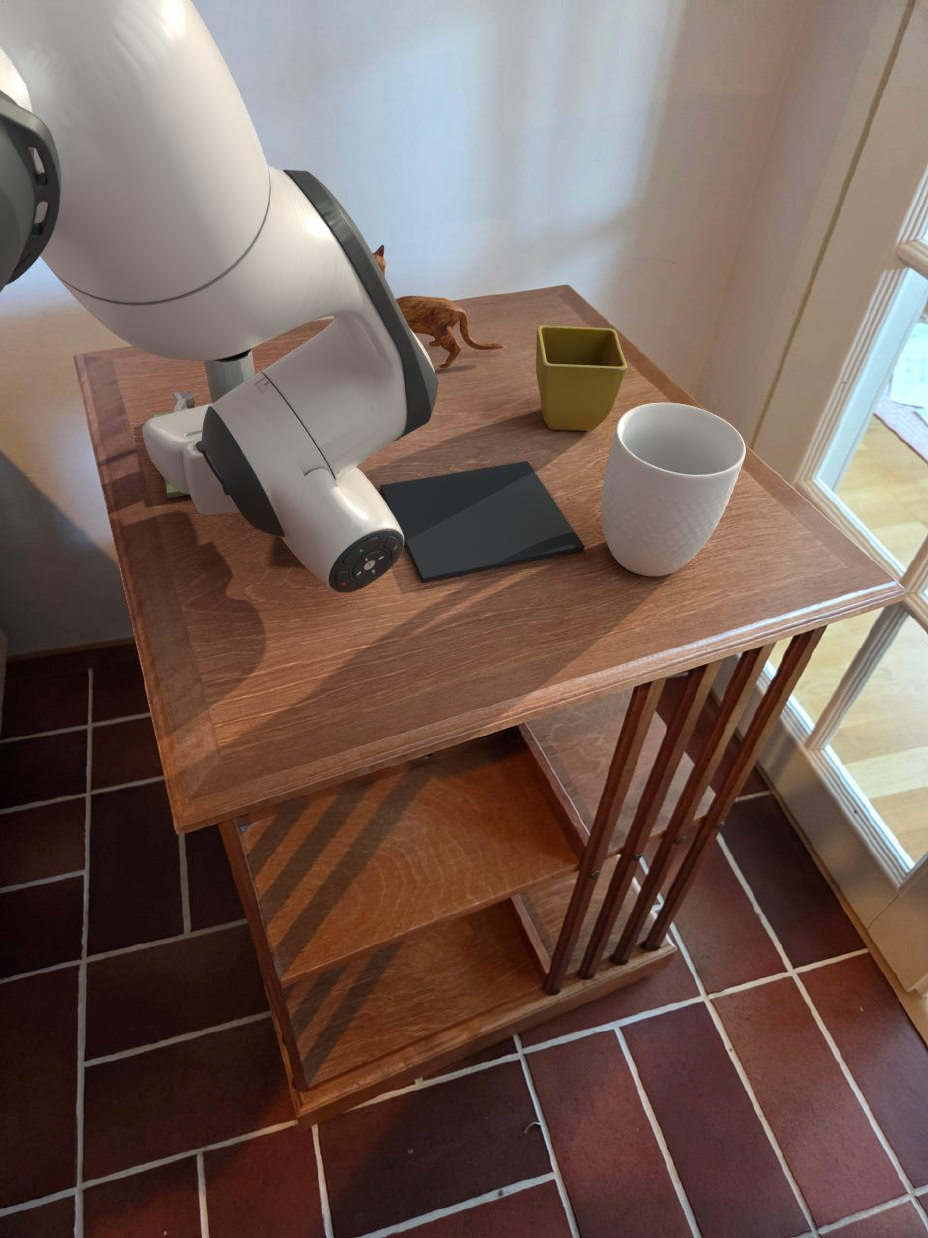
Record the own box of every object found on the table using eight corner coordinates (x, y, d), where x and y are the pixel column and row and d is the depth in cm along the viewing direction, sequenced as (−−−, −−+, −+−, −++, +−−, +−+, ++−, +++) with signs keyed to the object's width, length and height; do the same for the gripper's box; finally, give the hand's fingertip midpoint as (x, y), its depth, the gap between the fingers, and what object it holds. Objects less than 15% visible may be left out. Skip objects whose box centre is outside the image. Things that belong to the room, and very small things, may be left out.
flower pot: (526, 396, 97) (536, 323, 90) (600, 399, 97) (615, 327, 91) (532, 439, 91) (543, 364, 84) (611, 442, 91) (628, 368, 85)
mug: (580, 489, 85) (603, 374, 76) (686, 495, 86) (722, 382, 76) (594, 591, 75) (623, 472, 65) (714, 597, 75) (761, 480, 66)
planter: (267, 449, 85) (256, 357, 78) (223, 456, 84) (206, 363, 77) (258, 425, 88) (246, 334, 81) (215, 432, 87) (198, 340, 80)
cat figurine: (495, 342, 105) (506, 231, 95) (509, 369, 101) (522, 255, 91) (354, 350, 101) (350, 236, 92) (362, 379, 97) (359, 262, 87)
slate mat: (422, 583, 74) (422, 578, 74) (380, 489, 83) (379, 484, 83) (583, 550, 79) (585, 546, 78) (527, 465, 87) (527, 460, 87)
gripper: (388, 400, 76) (321, 334, 84) (168, 461, 68) (117, 381, 76) (388, 457, 81) (325, 389, 89) (182, 520, 73) (132, 439, 80)
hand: (227, 386), depth 82 cm, fingers open, 8 cm apart
